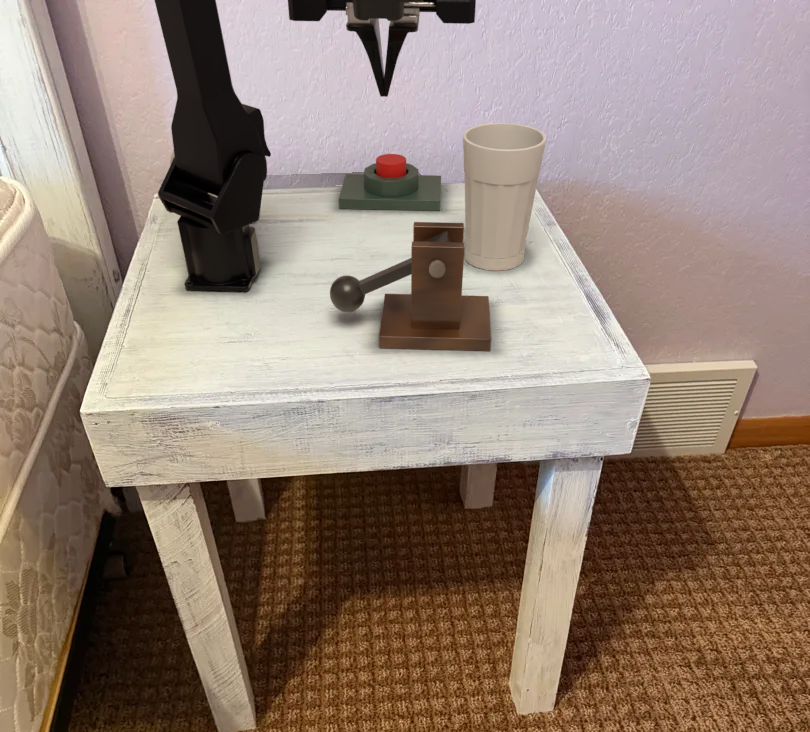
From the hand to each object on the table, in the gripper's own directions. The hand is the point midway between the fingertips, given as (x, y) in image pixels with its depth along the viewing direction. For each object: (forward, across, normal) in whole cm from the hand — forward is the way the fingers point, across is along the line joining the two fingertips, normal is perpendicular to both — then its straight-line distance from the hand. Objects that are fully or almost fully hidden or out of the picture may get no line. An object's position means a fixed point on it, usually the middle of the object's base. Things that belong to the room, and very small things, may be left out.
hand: (384, 95), depth 83 cm
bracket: (+12, +6, -29) cm, 32 cm away
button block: (+12, +1, +2) cm, 12 cm away
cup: (+12, +12, -14) cm, 22 cm away
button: (+9, +1, +2) cm, 9 cm away
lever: (+8, +3, -29) cm, 30 cm away
